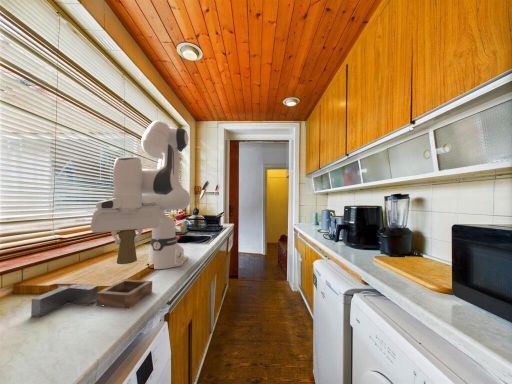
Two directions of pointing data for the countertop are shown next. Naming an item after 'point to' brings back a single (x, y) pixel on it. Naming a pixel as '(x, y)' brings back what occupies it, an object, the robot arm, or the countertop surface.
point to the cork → (127, 247)
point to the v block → (63, 298)
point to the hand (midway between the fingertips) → (127, 242)
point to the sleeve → (118, 298)
